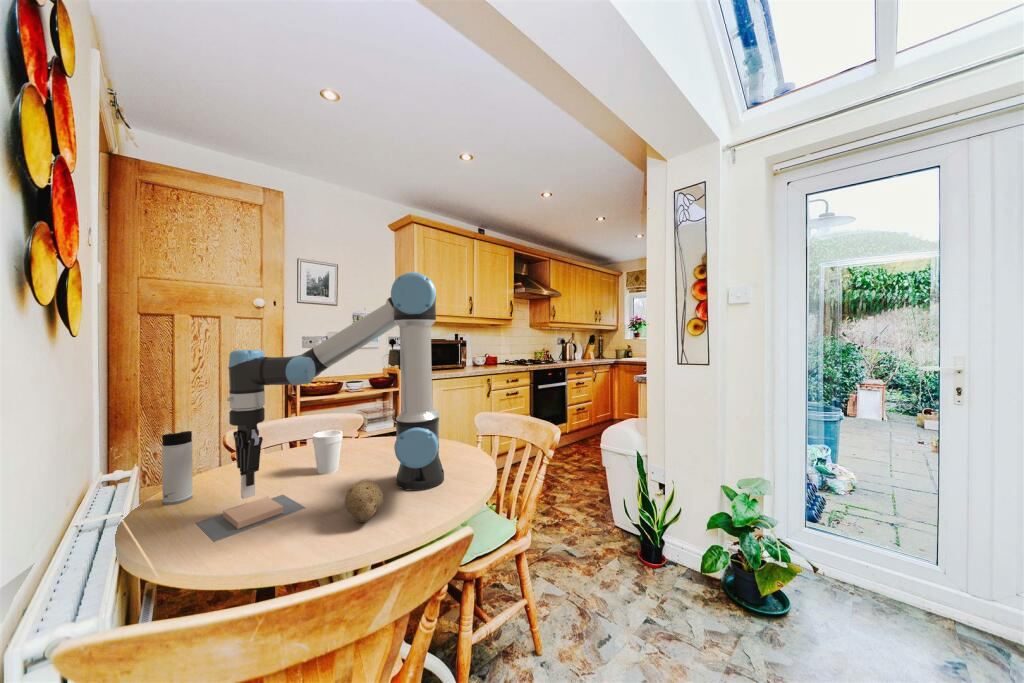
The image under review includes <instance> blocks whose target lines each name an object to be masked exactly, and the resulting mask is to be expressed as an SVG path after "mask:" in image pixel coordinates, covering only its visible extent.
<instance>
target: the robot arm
mask: <svg viewBox="0 0 1024 683" xmlns="http://www.w3.org/2000/svg"><path fill="white" fill-rule="evenodd" d="M436 301H437V290H436V287H435V285H434V283H433V281H432V280H431V279H430V278H429V277H428V276H426V275H424V274H422V273H420V272H415V271H411V272H410V271H409V272H405V273H403V274H401V275H399V276H397V278H395V280H394V281H393V283H392V285H391V289H390V297H388V298H386V301H385V304H383V305H381V306H380V307H379V308H378V307H377V309H375V310H373V311H371V312H370V313H368V314H367V315H365V316H363V317H362V318H360V319H358V320H357V321H355V322H353V323H352V324H350V325H348V326H346V327H345V328H343V329H342V330H340V331H338V332H337V333H335V334H334V335H332V336H330V337H329V338H327V339H325V340H323V341H322V342H320V343H318V344H317V345H315V346H313V347H312V348H310V349H308V350H307V351H305V352H303V353H302V354H299V355H291V356H278V357H277V356H276V357H275V356H274V357H273V356H272V357H271V356H265V351H264V350H262V349H234V350H232V351H231V352H230V353H229V358H228V359H229V360H228V367H227V369H228V380H229V386H228V387H229V392H228V393H229V394H228V395H229V397H227V398H226V400H227V402H229V409H230V411H229V416H228V418H229V420H228V421H229V424H230V425H231V426H237V430H236V431H233V433H232V435H233V438H234V445H235V447H234V448H235V455H236V456H235V457H236V467H237V469H239V474H240V498H241V499H242V500H246V499H248V498H251V497H252V498H253V497H255V496H256V472H258V471H259V470H260V462H261V460H260V459H261V450H262V449H261V448H262V444H263V436H259V435H260V430H259V428H258V424H259V423H262V422H264V421H265V419H266V418H265V416H266V415H265V413H266V412H265V408H264V406H265V404H266V400H265V399H266V396H265V394H266V393H265V392H266V391H265V386H300V385H309V384H311V383H312V382H313V380H314V378H315V377H316V378H317V377H318V376H319V375H320V374H321V373H322V372H324V371H326V370H327V369H329V368H330V367H332V366H333V365H335V364H336V363H338V362H340V361H342V360H343V359H345V358H347V357H348V356H349V355H350V356H351V355H352V354H353V353H354V352H356V351H358V350H359V349H361V348H363V347H364V346H366V345H368V344H369V343H371V342H373V341H374V340H376V339H377V338H379V337H381V336H382V335H385V333H387V332H389V331H391V330H392V329H394V328H395V327H397V326H398V327H399V353H400V354H399V356H400V357H399V358H400V361H399V362H400V363H399V364H400V398H401V400H400V401H401V404H400V405H401V411H400V413H399V414H397V416H396V419H395V420H396V422H395V423H396V425H395V426H396V427H395V428H396V430H395V431H396V440H395V442H394V446H393V448H394V455H395V457H396V459H397V460H398V462H399V467H398V470H397V474H396V476H395V483H396V486H397V487H398V488H400V489H402V490H407V491H421V490H428V489H432V488H435V487H438V486H439V485H441V484H442V483H443V482H444V481H445V470H444V468H443V465H442V462H441V459H440V458H441V457H440V455H439V453H440V449H439V448H440V441H439V440H440V437H439V436H440V435H439V434H440V432H439V428H440V424H439V423H440V422H439V420H440V415H439V411H438V410H436V409H433V378H432V377H433V375H432V374H433V372H432V369H433V368H432V331H431V330H432V329H431V327H432V326H433V325H435V323H436V322H437V309H436V308H437V305H436V304H437V303H436Z"/></svg>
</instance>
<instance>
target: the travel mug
mask: <svg viewBox="0 0 1024 683" xmlns="http://www.w3.org/2000/svg"><path fill="white" fill-rule="evenodd" d="M192 435H193V431H192V430H186V431H180V432H175V433H166V434H163V435H161V441H162V443H161V444H162V445H161V458H162V459H161V462H162V463H161V465H162V466H161V471H162V472H161V475H162V479H161V480H162V505H163V506H164V507H166V506H173V505H179V504H183V503H185V502H188V501H190V500H192V499H193V496H194V495H193V494H194V493H193V486H194V485H193V436H192Z"/></svg>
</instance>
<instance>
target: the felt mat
mask: <svg viewBox="0 0 1024 683" xmlns="http://www.w3.org/2000/svg"><path fill="white" fill-rule="evenodd" d="M270 499H272V500H274V501H275V502H277V503H278V504H280V505H282V506H283V513H281V514H278V515H275V516H272V517H270V518H267V519H264V520H261V521H259V522H256V523H253V524H250V525H247V526H245V527H242V528H239V529H237V528H236V527H235V526H234V525H232V524H231V523H230V522H229V521H228V520H226V519H225V518H224V517H223V513H221V514H218V515H216V516H212V517H209V518H207V519H203V520H200V521H198V522H194V523H195V525H196V526H197V527H198V528H199V529H200V530H201V531H202V532H203V533H205V535H206V536H208V538H209V539H210V540H211V541H213V542H214V543H215V542H218V541H220V540H223V539H225V538H226V539H227V538H228V537H231V536H234V535H236V534H240V533H243V532H245V531H248V530H250V529H253V528H255V527H258V526H261V525H263V524H267V523H270V522H272V521H274V520H277V519H280V518H283V517H285V516H289V515H291V514H293V513H296V512H299V511H301V510H304V509H306V506H304V505H302V504H300V503H299V502H297V501H295V500H293V499H292V498H290V497H289V496H286V495H285V494H280V495H278V496H274V497H271V498H270Z"/></svg>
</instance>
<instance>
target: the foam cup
mask: <svg viewBox="0 0 1024 683" xmlns="http://www.w3.org/2000/svg"><path fill="white" fill-rule="evenodd" d="M343 437H344V435H343V431H342V430H339V429H338V430H336V429H330V430H329V429H327V430H322V431H318V432H314V433H313V434H312V444H313V449H314V456H315V463H316V470H317V473H318V474H319V475H329V474H333V473H336V472H337V471H339V464H340V457H341V450H342V441H343V440H344V438H343Z"/></svg>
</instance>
